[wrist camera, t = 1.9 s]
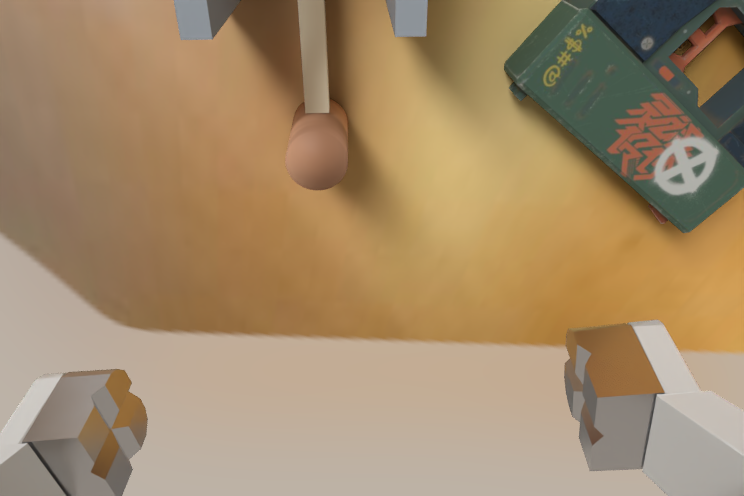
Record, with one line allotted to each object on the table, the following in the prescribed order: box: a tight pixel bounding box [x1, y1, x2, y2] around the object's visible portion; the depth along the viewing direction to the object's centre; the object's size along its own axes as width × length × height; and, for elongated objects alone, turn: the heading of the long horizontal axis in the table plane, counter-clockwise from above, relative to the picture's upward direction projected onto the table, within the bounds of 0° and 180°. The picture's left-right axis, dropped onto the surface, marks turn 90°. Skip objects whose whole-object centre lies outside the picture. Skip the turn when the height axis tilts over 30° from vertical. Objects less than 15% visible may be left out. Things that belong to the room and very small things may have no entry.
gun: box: [504, 0, 744, 233], centre depth 30 cm, size 3×16×15 cm
